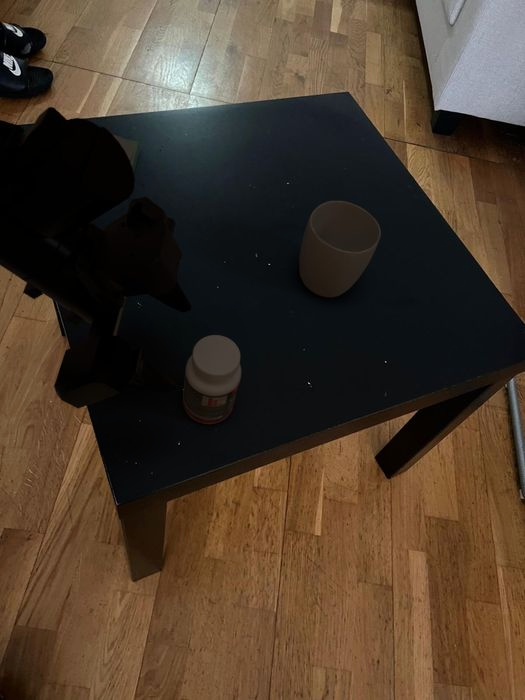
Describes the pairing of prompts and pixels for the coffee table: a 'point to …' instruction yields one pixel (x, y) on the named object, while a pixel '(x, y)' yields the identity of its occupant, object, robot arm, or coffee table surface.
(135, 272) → the robot arm
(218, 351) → the pill bottle
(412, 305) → the coffee table surface
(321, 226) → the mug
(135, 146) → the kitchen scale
